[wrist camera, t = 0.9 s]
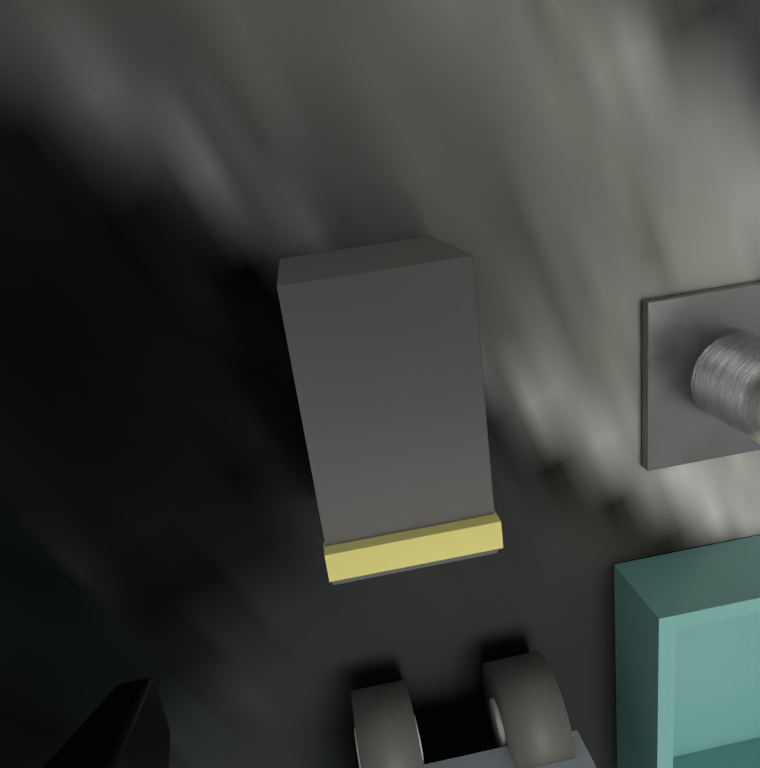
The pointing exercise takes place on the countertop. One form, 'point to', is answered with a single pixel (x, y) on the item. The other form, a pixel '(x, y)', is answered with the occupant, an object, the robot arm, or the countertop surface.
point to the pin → (730, 382)
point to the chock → (391, 404)
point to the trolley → (506, 713)
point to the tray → (689, 658)
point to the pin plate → (689, 372)
